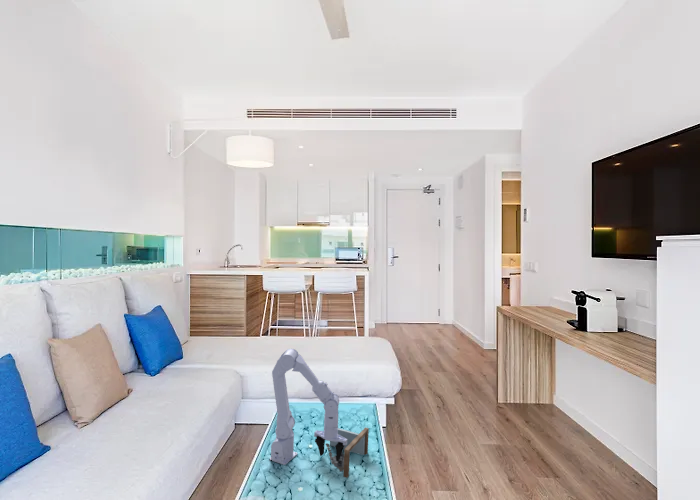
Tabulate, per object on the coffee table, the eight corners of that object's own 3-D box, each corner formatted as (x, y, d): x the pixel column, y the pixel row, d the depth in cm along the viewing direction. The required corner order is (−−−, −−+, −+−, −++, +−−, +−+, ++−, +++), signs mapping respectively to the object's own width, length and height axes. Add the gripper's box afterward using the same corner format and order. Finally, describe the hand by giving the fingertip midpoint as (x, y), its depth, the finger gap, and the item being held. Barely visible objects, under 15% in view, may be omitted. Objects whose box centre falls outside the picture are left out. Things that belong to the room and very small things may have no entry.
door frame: (347, 477, 155) (348, 450, 154) (343, 476, 155) (344, 449, 155) (367, 453, 173) (368, 428, 172) (364, 452, 173) (365, 427, 173)
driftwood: (350, 472, 159) (350, 467, 159) (333, 474, 158) (333, 468, 158) (340, 445, 179) (340, 441, 179) (325, 447, 178) (325, 442, 178)
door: (328, 446, 176) (329, 428, 176) (331, 444, 178) (331, 426, 178) (362, 456, 169) (362, 437, 169) (364, 453, 171) (365, 435, 171)
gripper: (351, 425, 167) (349, 457, 167) (320, 417, 173) (319, 448, 174) (343, 432, 160) (342, 465, 161) (312, 423, 167) (311, 456, 167)
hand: (329, 457), depth 167 cm, fingers open, 7 cm apart
